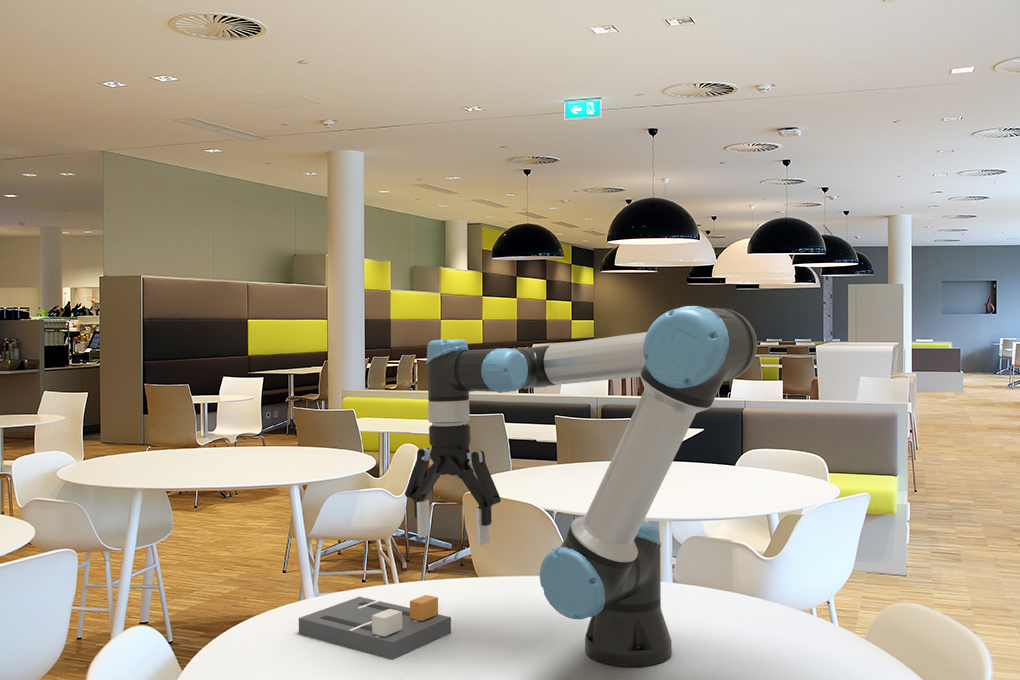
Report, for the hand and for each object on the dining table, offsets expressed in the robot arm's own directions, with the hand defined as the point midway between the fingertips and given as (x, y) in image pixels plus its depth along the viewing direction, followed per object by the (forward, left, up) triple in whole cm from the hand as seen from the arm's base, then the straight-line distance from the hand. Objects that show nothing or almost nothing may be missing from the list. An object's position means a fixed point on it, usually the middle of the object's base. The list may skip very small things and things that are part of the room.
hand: (452, 539), depth 160 cm
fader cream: (+7, +10, -15) cm, 20 cm away
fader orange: (+7, 0, -15) cm, 17 cm away
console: (+15, +5, -19) cm, 24 cm away
